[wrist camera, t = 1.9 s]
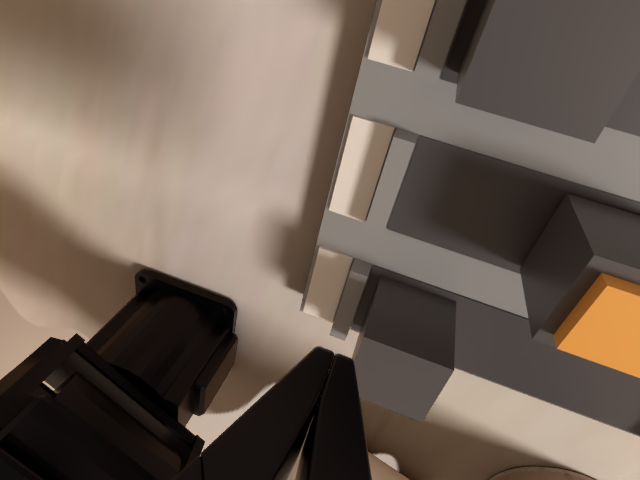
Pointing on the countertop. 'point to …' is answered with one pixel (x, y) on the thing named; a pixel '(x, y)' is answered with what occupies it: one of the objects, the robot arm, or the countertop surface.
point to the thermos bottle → (539, 474)
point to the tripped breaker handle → (587, 284)
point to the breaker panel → (475, 193)
